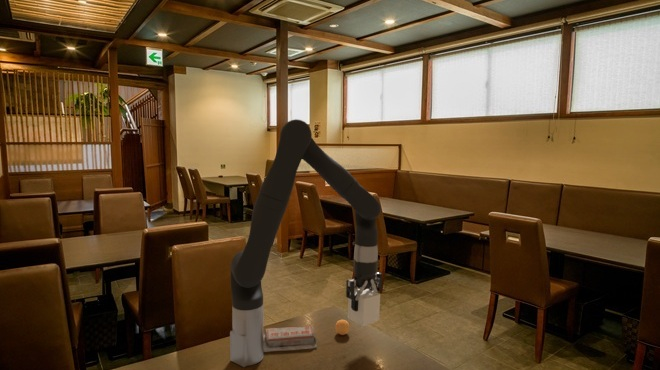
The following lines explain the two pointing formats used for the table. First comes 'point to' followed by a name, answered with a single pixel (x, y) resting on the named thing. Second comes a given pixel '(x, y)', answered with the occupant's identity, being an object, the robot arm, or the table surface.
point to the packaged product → (289, 338)
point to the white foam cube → (365, 308)
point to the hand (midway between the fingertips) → (363, 307)
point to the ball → (342, 327)
